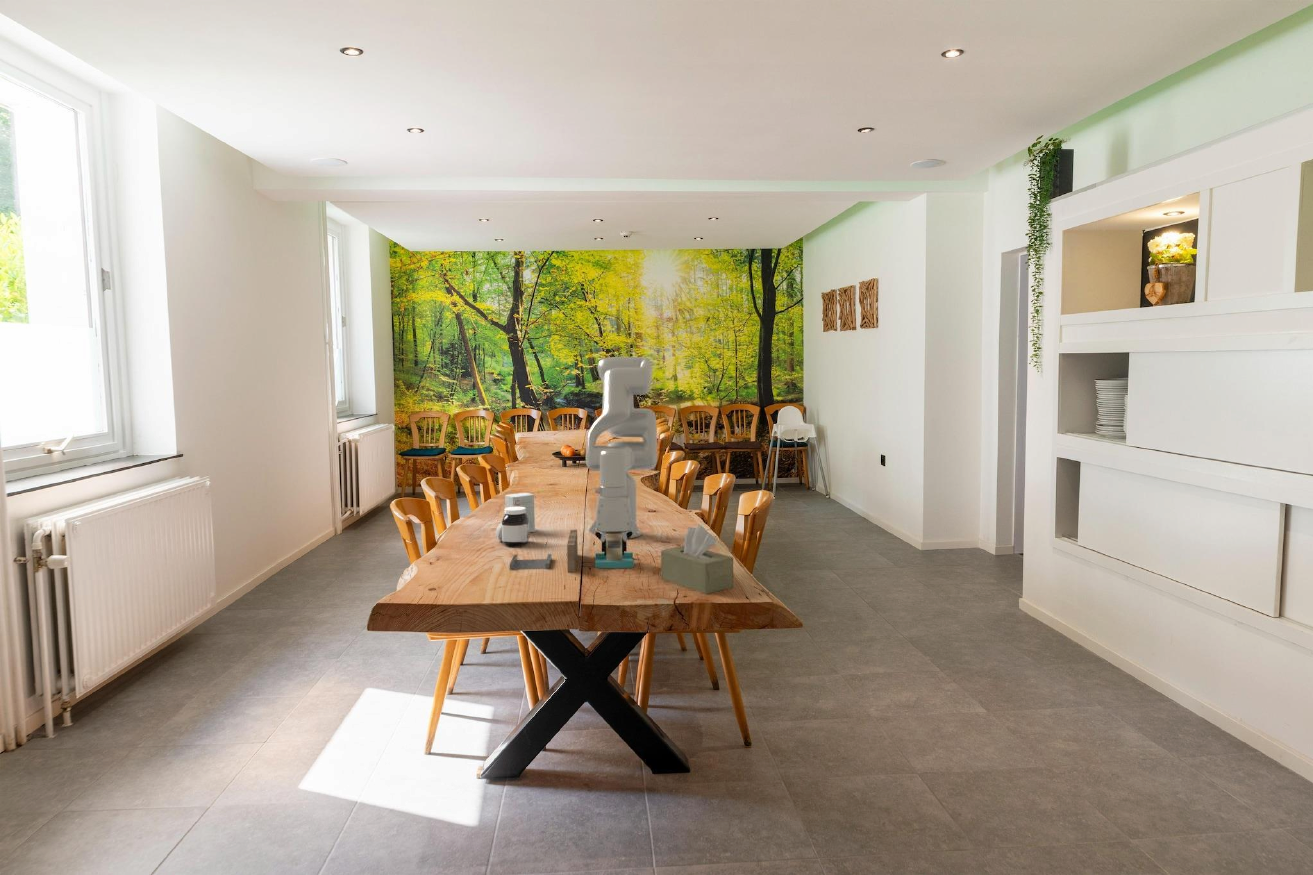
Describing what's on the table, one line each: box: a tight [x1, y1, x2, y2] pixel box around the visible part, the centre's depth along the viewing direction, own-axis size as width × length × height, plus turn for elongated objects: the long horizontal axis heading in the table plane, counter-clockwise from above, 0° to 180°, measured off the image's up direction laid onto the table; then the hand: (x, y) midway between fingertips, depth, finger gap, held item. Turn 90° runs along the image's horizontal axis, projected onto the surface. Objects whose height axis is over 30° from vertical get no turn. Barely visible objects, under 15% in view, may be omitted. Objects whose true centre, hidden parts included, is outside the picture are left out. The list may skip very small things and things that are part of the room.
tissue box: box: [660, 524, 734, 595], centre depth 215 cm, size 19×10×16 cm, turn 38°
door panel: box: [566, 529, 579, 573], centre depth 236 cm, size 20×2×8 cm, turn 3°
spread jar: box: [494, 507, 530, 547], centre depth 263 cm, size 12×11×12 cm
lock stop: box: [605, 532, 622, 561], centre depth 236 cm, size 4×7×8 cm
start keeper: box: [509, 553, 552, 571], centre depth 235 cm, size 11×11×2 cm
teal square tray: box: [594, 551, 635, 569], centre depth 237 cm, size 11×11×2 cm
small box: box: [504, 492, 536, 533], centre depth 280 cm, size 8×6×13 cm
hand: (614, 553), depth 236 cm, fingers closed on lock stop, 4 cm apart
